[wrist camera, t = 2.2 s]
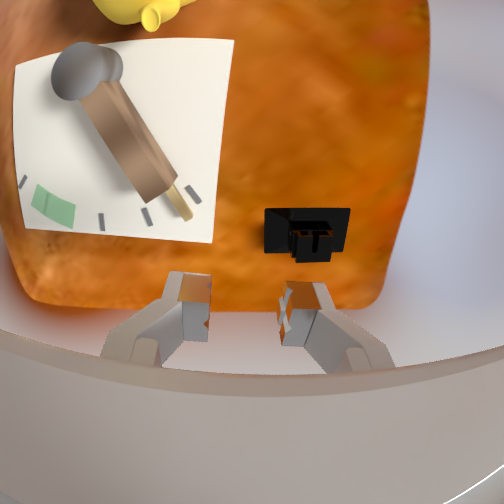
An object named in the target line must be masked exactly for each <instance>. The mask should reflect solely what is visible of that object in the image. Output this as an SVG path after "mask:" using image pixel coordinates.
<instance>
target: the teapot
mask: <svg viewBox="0 0 504 504" xmlns="http://www.w3.org/2000/svg"><path fill="white" fill-rule="evenodd" d="M194 1H197V0H93V2H94V3H95V5H96V6H97V8H98V9H99V10H100V11H101V12H102V13H103V14H104V15H105V16H106V17H107V18H108V19H110V20H111V21H113V22H115V23H117V24H123V25H128V24H134V23H137V22H141V23H142V25H143V27H144V28H145V29H146V30H147V31H149V32H153V31H155V30H157V29H158V27H159V25H160V23H163V22H166V21H168V20H170V19H171V18H173V17H174V16H175V15H176V14H177V13H178V11H179V8H180V7H183V6H185V5H188V4H190V3H192V2H194Z"/></svg>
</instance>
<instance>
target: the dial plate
mask: <svg viewBox="0 0 504 504" xmlns="http://www.w3.org/2000/svg"><path fill="white" fill-rule="evenodd" d="M100 46H104V47H107V48H111V49H113V50H115V51H116V52H117V53H118V54H119V55H120V56H121V58H122V61H123V73H122V77H121V79H120V81H119V82H120V84H121V85H122V87H123V88H124V90H125V92H126V93H127V95H128V97H129V98H130V100H131V101H132V103H133V105H134V106H135V108H136V110H137V111H138V113H139V114H140V116H141V118H142V119H143V121H144V122H145V124H146V126H147V127H148V129H149V130H150V132H151V134H152V135H153V137H154V138H155V140H156V141H157V143H158V145H159V146H160V148H161V149H162V151H163V153H164V154H165V156H166V157H167V159H168V160H169V162H170V163H171V165H172V167H173V168H174V170H175V171H176V173H177V174H178V177H177V178H176V180H175V181H174V185H175V187H176V188H177V190H178V191H179V193H180V194H181V196H182V197H183V199H184V200H185V202H186V203H187V205H188V206H189V208H190V209H191V211H192V212H193V214H194V215H193V218H192V219H190V220H189V221H187V222H185V221H184V220H183V218H182V217H181V215H180V214H179V212H178V211H177V209H176V208H175V206H174V205H173V204H172V202H171V201H170V199H169V198H168V196H167V195H166V193H165V192H164V193H163V194H161V195H159V196H158V197H156V198H155V199H153V200H151V201H150V202H148V203H147V204H145V202H144V201H143V199H142V198H141V197H140V195H139V194H138V192H137V191H136V189H135V188H134V186H133V185H132V183H131V182H130V180H129V179H128V177H127V176H126V174H125V173H124V171H123V170H122V168H121V167H120V165H119V164H118V162H117V161H116V159H115V158H114V156H113V155H112V153H111V152H110V150H109V148H108V147H107V145H106V144H105V142H104V141H103V139H102V137H101V136H100V134H99V133H98V131H97V129H96V128H95V126H94V125H93V123H92V121H91V120H90V118H89V116H88V115H87V113H86V111H85V110H84V108H83V106H82V105H81V103H80V101H79V100H73V101H67V100H63V99H61V98H60V97H58V96H57V95H56V93H55V92H54V90H53V88H52V84H51V73H52V68H53V66H54V63H55V61H56V59H57V58H58V56H59V55H60V54H61V53H62V52H60V53H56V54H52V55H48V56H44V57H41V58H37V59H34V60H31V61H28V62H24V63H21V64H18V65H16V69H15V81H14V98H13V135H14V153H15V165H16V174H17V182H18V190H19V196H20V202H21V208H22V214H23V219H24V224H25V228H29V229H42V230H55V231H68V232H80V233H93V234H106V235H118V236H130V237H143V238H155V239H167V240H179V241H191V242H202V243H212V238H213V227H214V214H215V202H216V190H217V179H218V169H219V159H220V149H221V140H222V131H223V122H224V114H225V105H226V97H227V90H228V82H229V75H230V67H231V60H232V53H233V47H234V40H225V39H207V38H160V39H143V40H131V41H122V42H114V43H106V44H100Z"/></svg>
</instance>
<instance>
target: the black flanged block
mask: <svg viewBox="0 0 504 504" xmlns="http://www.w3.org/2000/svg"><path fill="white" fill-rule="evenodd" d="M350 210H351V209H350V208H266V209H265V223H264V253H290V255H291V258H294V259H295V262H296V263H308V262H330V260H331V254H332V252H343V248H344V243H345V238H346V233H347V227H348V222H349V216H350Z"/></svg>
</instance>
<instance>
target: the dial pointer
mask: <svg viewBox="0 0 504 504" xmlns="http://www.w3.org/2000/svg"><path fill="white" fill-rule="evenodd" d="M122 73H123V61H122V58H121V56H120V55H119V54H118V53H117V52H116V51H115V50H113V49H111V48H107V47H104V46H100V45H96V44H93V43H89V42H77V43H74V44H72V45H70V46H69V47H67V48H66V49H65V50H63V51H62V53H61V54H60V55H59V56H58V58H57V59H56V61H55V63H54V66H53V68H52V73H51V84H52V88H53V90H54V92H55V93H56V95H57V96H58V97H60V98H61V99H63V100H67V101H73V100H79V101H80V103H81V105H82V106H83V108H84V110H85V111H86V113H87V115H88V116H89V118H90V120H91V121H92V123H93V125H94V126H95V128H96V129H97V131H98V133H99V134H100V136H101V137H102V139H103V141H104V142H105V144H106V145H107V147H108V148H109V150H110V152H111V153H112V155H113V156H114V158H115V159H116V161H117V162H118V164H119V165H120V167H121V168H122V170H123V171H124V173H125V174H126V176H127V177H128V179H129V180H130V182H131V183H132V185H133V186H134V188H135V189H136V191H137V192H138V194H139V195H140V197H141V198H142V199H143V201H144V202H145V204H147V203H148V202H150V201H151V200H153V199H155V198H156V197H158V196H159V195H161V194H163V193H164V192H165V193H166V195H167V196H168V198H169V199H170V201H171V202H172V204H173V205H174V206H175V208H176V209H177V211H178V212H179V214H180V215H181V217H182V218H183V220H184V221H185V222H187V221H189V220H190V219H192V218H193V215H194V214H193V212H192V211H191V209H190V208H189V206H188V205H187V203H186V202H185V200H184V199H183V197H182V196H181V194H180V193H179V191H178V190H177V188H176V187H175V185H174V181H175V180H176V178H177V177H178V174H177V173H176V171H175V170H174V168H173V167H172V165H171V163H170V162H169V160H168V159H167V157H166V156H165V154H164V153H163V151H162V149H161V148H160V146H159V145H158V143H157V141H156V140H155V138H154V137H153V135H152V134H151V132H150V130H149V129H148V127H147V126H146V124H145V122H144V121H143V119H142V118H141V116H140V114H139V113H138V111H137V110H136V108H135V106H134V105H133V103H132V101H131V100H130V98H129V97H128V95H127V93H126V92H125V90H124V88H123V87H122V85H121V84H120V82H119V81H120V79H121V77H122Z"/></svg>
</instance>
